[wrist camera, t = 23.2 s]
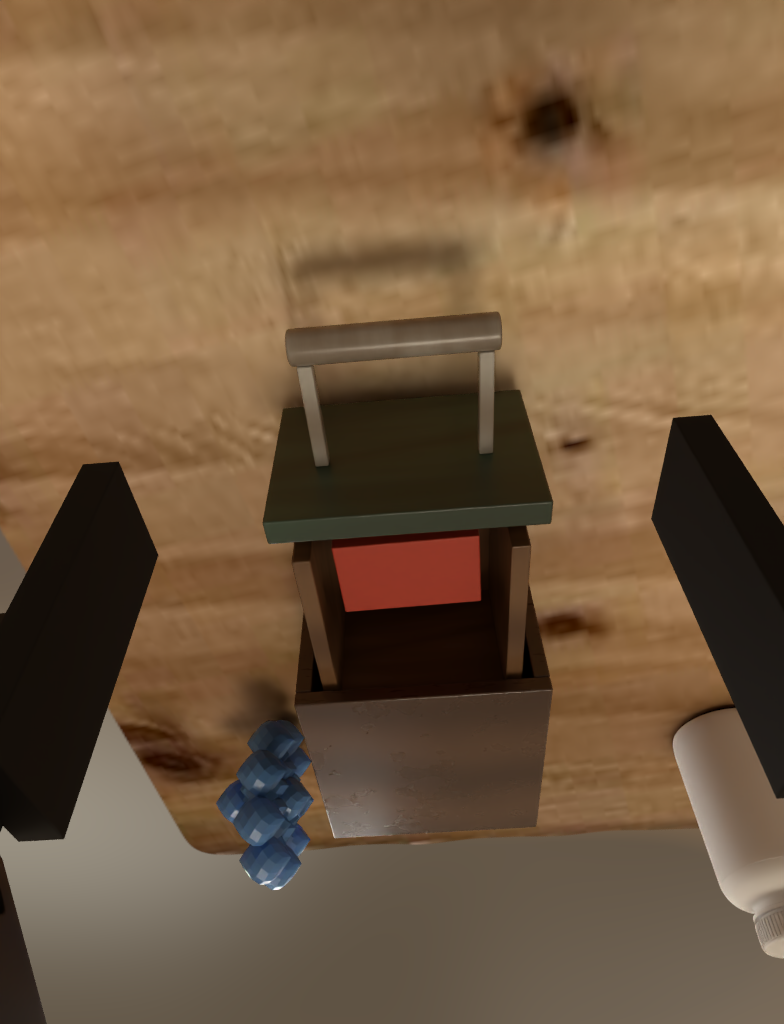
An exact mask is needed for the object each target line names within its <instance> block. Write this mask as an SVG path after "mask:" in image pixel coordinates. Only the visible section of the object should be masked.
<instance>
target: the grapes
mask: <svg viewBox="0 0 784 1024" xmlns="http://www.w3.org/2000/svg"><path fill="white" fill-rule="evenodd" d="M303 739H304V737H303V735H302V734H301V733H300V732H299V730H298V729H297V728H296V726H294V725H293V724H292V723H291V722H289V721H286V720H278V721H270V720H268V721H266V722H265V723H263V724H261V725H260V727H259V728H258V729H257V730H256V731H255V733H254V734H253V735H252V736H251V738H250V740H249V741H248V743H247V744H248V746H249V747H250V749H251V750H252V751H253V753H252V754H251V755H250V756H249V757H248V758H247V760H246V761H245V762H244V763H243V765H242V766H241V767H240V769H239V770H238V772H237V774H236V775H237V777H238V779H239V780H237V781H235V782H234V783H232V784H231V785H229V787H228V788H227V789H226V790H225V791H224V793H223V794H222V795H221V796H220V798H219V800H218V801H217V803H216V804H217V806H218V808H219V810H220V811H221V813H222V814H223V815H224V817H225V818H226V819H228V820H229V821H230V822H232V823H233V824H234V826H235V828H236V830H237V831H238V833H239V834H240V835H241V837H242V838H243V839H244V840H245V841H247V842H248V843H249V844H250V845H249V847H248V848H247V849H246V851H245V852H244V854H243V855H242V857H241V858H240V863H241V864H242V866H243V868H244V869H245V871H246V873H247V874H248V875H249V877H250V878H251V879H252V880H254V881H255V882H257V883H258V884H260V885H262V884H264V885H265V886H267V887H268V888H270V889H271V890H277V889H280V888H282V887H283V886H285V885H286V884H287V883H288V882H289V881H290V880H291V879H292V877H293V876H294V875H295V873H296V872H297V870H298V868H299V867H300V865H301V862H300V860H299V859H298V856H299V855H300V854H301V853H302V851H303V850H304V848H305V847H306V845H307V844H308V842H309V841H310V839H309V837H308V836H307V834H306V833H305V831H304V830H303V829H302V827H301V826H300V825H299V824H297V822H298V820H299V819H300V817H302V816H303V815H304V814H305V812H306V811H307V810H308V808H309V807H310V805H311V804H312V802H313V798H312V797H311V795H310V794H309V793H308V791H307V790H306V789H305V787H304V786H303V785H302V783H301V782H300V781H301V780H300V777H301V776H302V775H303V773H304V772H305V771H306V769H307V768H308V766H309V765H310V763H311V760H310V759H309V758H308V756H307V755H306V754H305V752H304V751H303V750H302V749H301V748H300V747H299V745H300V744H301V742H302V741H303Z"/></svg>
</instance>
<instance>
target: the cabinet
mask: <svg viewBox="0 0 784 1024" xmlns="http://www.w3.org/2000/svg"><path fill="white" fill-rule="evenodd" d="M552 691H553V688H552V684H551V679H550V675H549V670H548V666H547V661H546V657H545V653H544V648H543V644H542V639H541V635H540V630H539V626H538V622H537V617H536V613H535V608H534V604H533V600H532V595H531V591H530V586H529V583H528V597H527V612H526V626H525V640H524V655H523V669H522V679H506V680H491V681H475V682H459V683H444V684H428V685H412V686H396V687H381V688H365V689H349V690H333V691H323V687H322V683H321V679H320V675H319V671H318V667H317V663H316V659H315V655H314V651H313V647H312V643H311V639H310V635H309V631H308V626H307V622H306V618H305V614H303V624H302V634H301V644H300V654H299V664H298V674H297V684H296V695H295V709H296V712H297V715H298V719H299V722H300V725H301V729H302V732H303V735H304V739H305V742H306V745H307V749H308V752H309V755H310V759H311V762H312V765H313V768H314V772H315V775H316V778H317V782H318V785H319V788H320V792H321V795H322V798H323V802H324V805H325V808H326V812H327V815H328V818H329V821H330V825H331V828H332V831H333V835H334V838H344V837H362V836H380V835H398V834H416V833H434V832H453V831H471V830H489V829H507V828H525V827H536V824H537V816H538V807H539V799H540V791H541V782H542V774H543V766H544V757H545V749H546V741H547V733H548V724H549V716H550V708H551V699H552Z"/></svg>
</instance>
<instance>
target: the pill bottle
mask: <svg viewBox="0 0 784 1024" xmlns="http://www.w3.org/2000/svg"><path fill="white" fill-rule="evenodd" d="M673 750H674V754H675V758H676V761H677V764H678V767H679V770H680V773H681V776H682V778H683V781H684V784H685V787H686V790H687V793H688V796H689V799H690V802H691V804H692V807H693V810H694V813H695V816H696V819H697V822H698V825H699V828H700V831H701V833H702V836H703V839H704V842H705V845H706V848H707V851H708V854H709V857H710V859H711V862H712V865H713V868H714V871H715V874H716V877H717V880H718V882H719V885H720V888H721V890H722V891H723V893H724V894H725V896H726V897H727V899H728V900H729V901H730V902H731V903H732V904H733V905H735V906H736V907H738V908H739V909H741V910H744V911H746V912H749V913H753V914H755V915H754V916H753V921H754V923H755V930H756V933H757V936H758V938H759V941H760V944H761V947H762V949H763V950H764V951H765V953H766V954H768V955H770V956H773V957H777V958H784V798H781V799H776V796H775V794H774V792H773V790H772V788H771V785H770V783H769V781H768V779H767V776H766V774H765V772H764V770H763V767H762V765H761V763H760V761H759V758H758V756H757V754H756V752H755V749H754V747H753V745H752V743H751V741H750V738H749V736H748V734H747V732H746V729H745V727H744V725H743V723H742V720H741V718H740V716H739V714H738V711H737V709H736V708H729V709H722V710H717V711H713V712H710V713H707V714H704V715H701V716H699V717H697V718H695V719H693V720H691V721H689V722H688V723H686V724H685V725H684V726H682V727H681V728H680V729H679V730H678V731H677V733H676V734H675V736H674V739H673Z"/></svg>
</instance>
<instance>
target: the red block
mask: <svg viewBox="0 0 784 1024" xmlns="http://www.w3.org/2000/svg"><path fill="white" fill-rule="evenodd" d="M331 549H332V554H333V558H334V563H335V567H336V572H337V576H338V581H339V585H340V590H341V594H342V599H343V603H344V608H345V611H346V612H351V611H363V610H375V609H387V608H400V607H412V606H424V605H436V604H448V603H460V602H472V601H481V569H480V536H479V529H471V530H457V531H443V532H429V533H415V534H401V535H387V536H373V537H359V538H346V539H332V548H331Z"/></svg>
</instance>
